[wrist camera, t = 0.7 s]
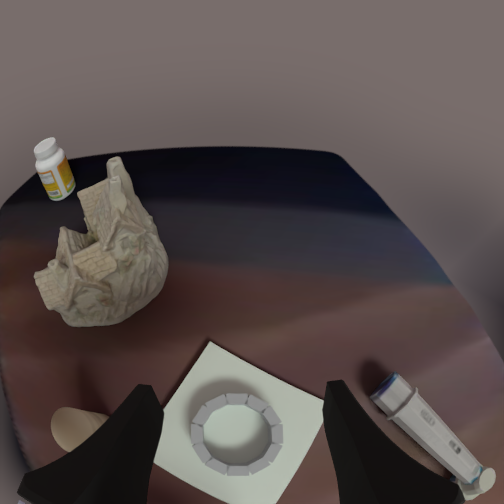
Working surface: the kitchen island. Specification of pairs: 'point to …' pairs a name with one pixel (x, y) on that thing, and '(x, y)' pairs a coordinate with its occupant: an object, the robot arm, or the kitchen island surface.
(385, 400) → the white handheld device
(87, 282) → the ceramic cottage
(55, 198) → the supplement bottle
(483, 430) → the kitchen island surface
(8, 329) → the kitchen island surface
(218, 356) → the collar plate
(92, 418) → the maple peg
